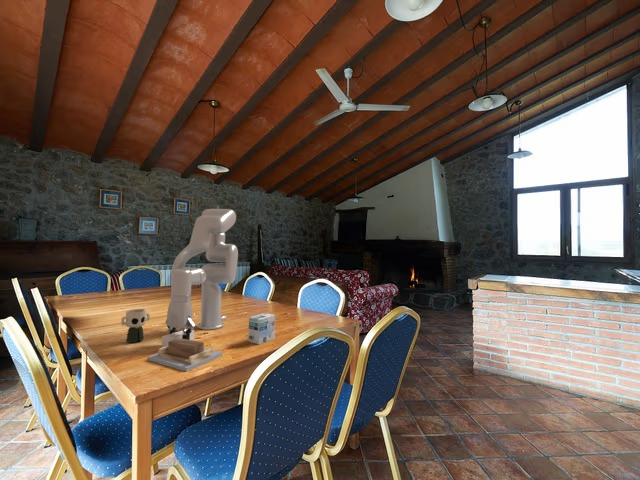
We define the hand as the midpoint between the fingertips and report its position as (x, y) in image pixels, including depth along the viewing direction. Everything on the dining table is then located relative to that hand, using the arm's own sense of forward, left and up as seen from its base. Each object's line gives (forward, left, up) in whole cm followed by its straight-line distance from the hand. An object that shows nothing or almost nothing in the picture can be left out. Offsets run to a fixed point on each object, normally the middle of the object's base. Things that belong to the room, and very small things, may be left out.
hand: (179, 342), depth 121 cm
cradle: (+9, +14, 0) cm, 17 cm away
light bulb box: (-22, +25, -2) cm, 34 cm away
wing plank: (0, -1, -1) cm, 2 cm away
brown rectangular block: (+9, +14, 0) cm, 17 cm away
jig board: (+8, +13, -1) cm, 15 cm away
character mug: (+6, -20, -1) cm, 21 cm away
